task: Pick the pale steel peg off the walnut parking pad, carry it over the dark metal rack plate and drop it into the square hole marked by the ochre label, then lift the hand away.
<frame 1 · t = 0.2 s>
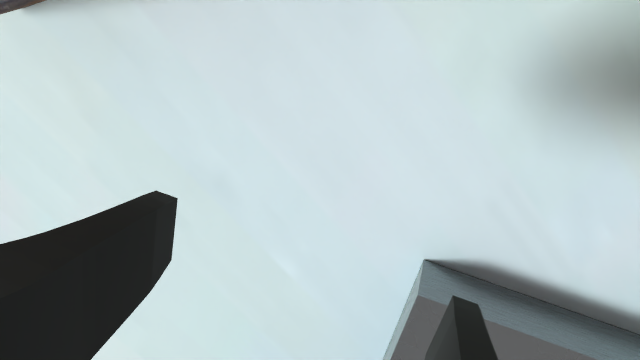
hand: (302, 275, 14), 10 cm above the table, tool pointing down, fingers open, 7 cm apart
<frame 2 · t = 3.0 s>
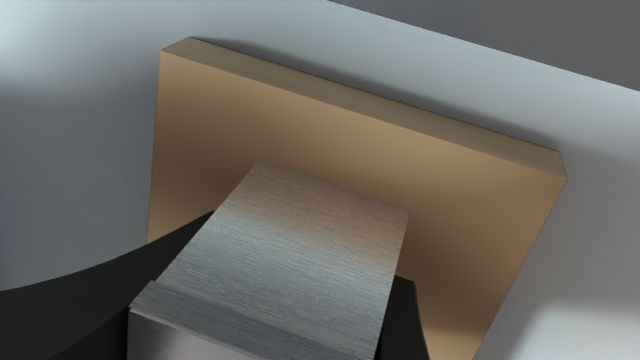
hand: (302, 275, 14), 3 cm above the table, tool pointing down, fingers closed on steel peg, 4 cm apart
steel peg: (317, 244, 15), point 2 cm above the table, touching gripper, parking pad
parking pad: (331, 216, 16), on the table
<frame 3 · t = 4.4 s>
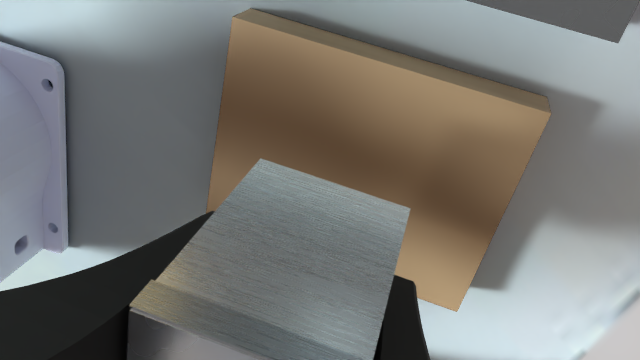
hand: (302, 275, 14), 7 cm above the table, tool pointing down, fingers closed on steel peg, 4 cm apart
steel peg: (317, 244, 15), point 6 cm above the table, touching gripper
parking pad: (362, 157, 20), on the table
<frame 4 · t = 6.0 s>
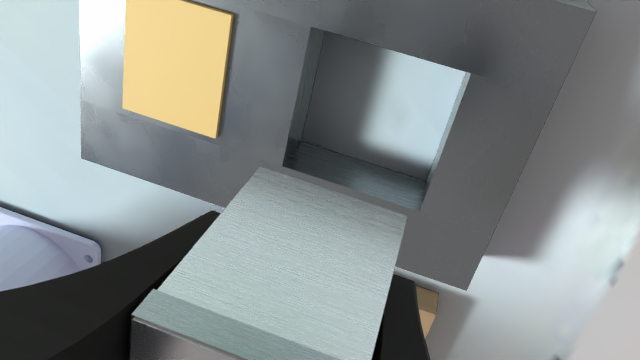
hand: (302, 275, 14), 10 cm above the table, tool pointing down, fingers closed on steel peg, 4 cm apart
steel peg: (316, 250, 15), point 8 cm above the table, touching gripper
parking pad: (316, 318, 28), on the table
rack plate: (308, 79, 22), on the table
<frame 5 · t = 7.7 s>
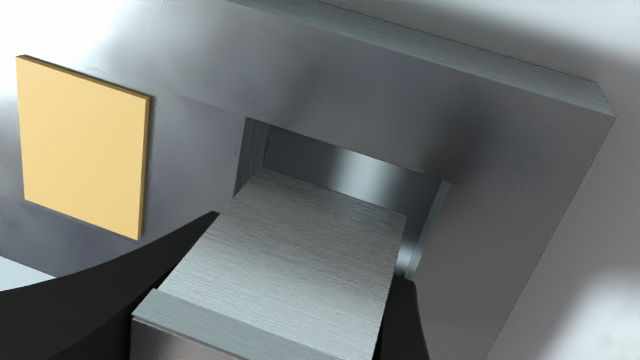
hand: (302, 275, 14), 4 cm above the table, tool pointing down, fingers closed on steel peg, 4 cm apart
steel peg: (316, 250, 15), point 3 cm above the table, touching gripper
rack plate: (255, 163, 18), on the table
when the fingers open (3 cm above the table, at t = 9.1 s): steel peg drops 2 cm, resting in rack plate.
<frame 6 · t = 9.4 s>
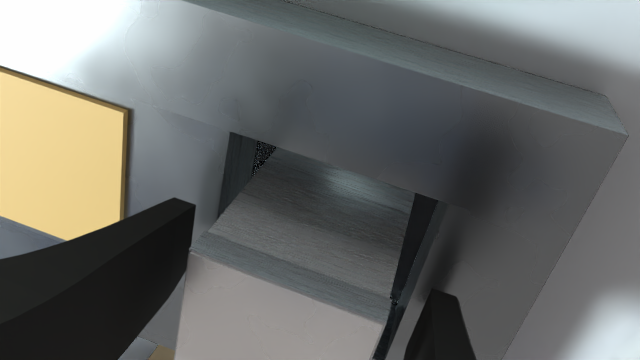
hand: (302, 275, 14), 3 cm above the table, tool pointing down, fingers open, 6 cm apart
steel peg: (334, 215, 17), resting in rack plate
rack plate: (243, 177, 17), on the table
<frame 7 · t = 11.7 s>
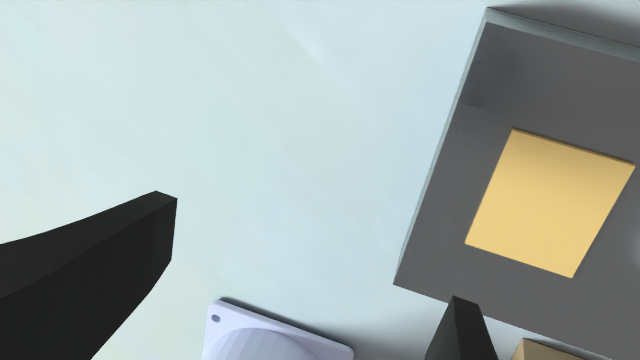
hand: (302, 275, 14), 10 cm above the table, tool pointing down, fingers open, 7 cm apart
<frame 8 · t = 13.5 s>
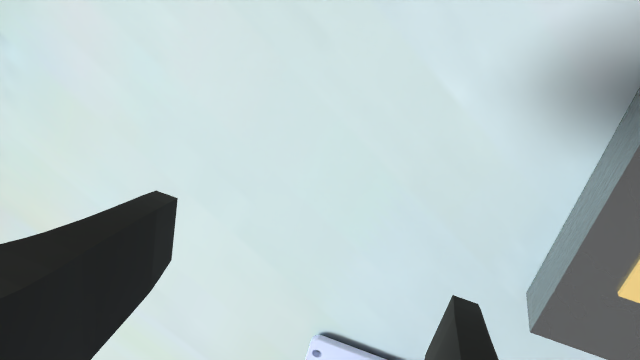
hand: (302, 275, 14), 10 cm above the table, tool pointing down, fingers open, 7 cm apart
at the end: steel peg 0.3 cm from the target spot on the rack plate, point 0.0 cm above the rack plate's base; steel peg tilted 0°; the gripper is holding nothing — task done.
